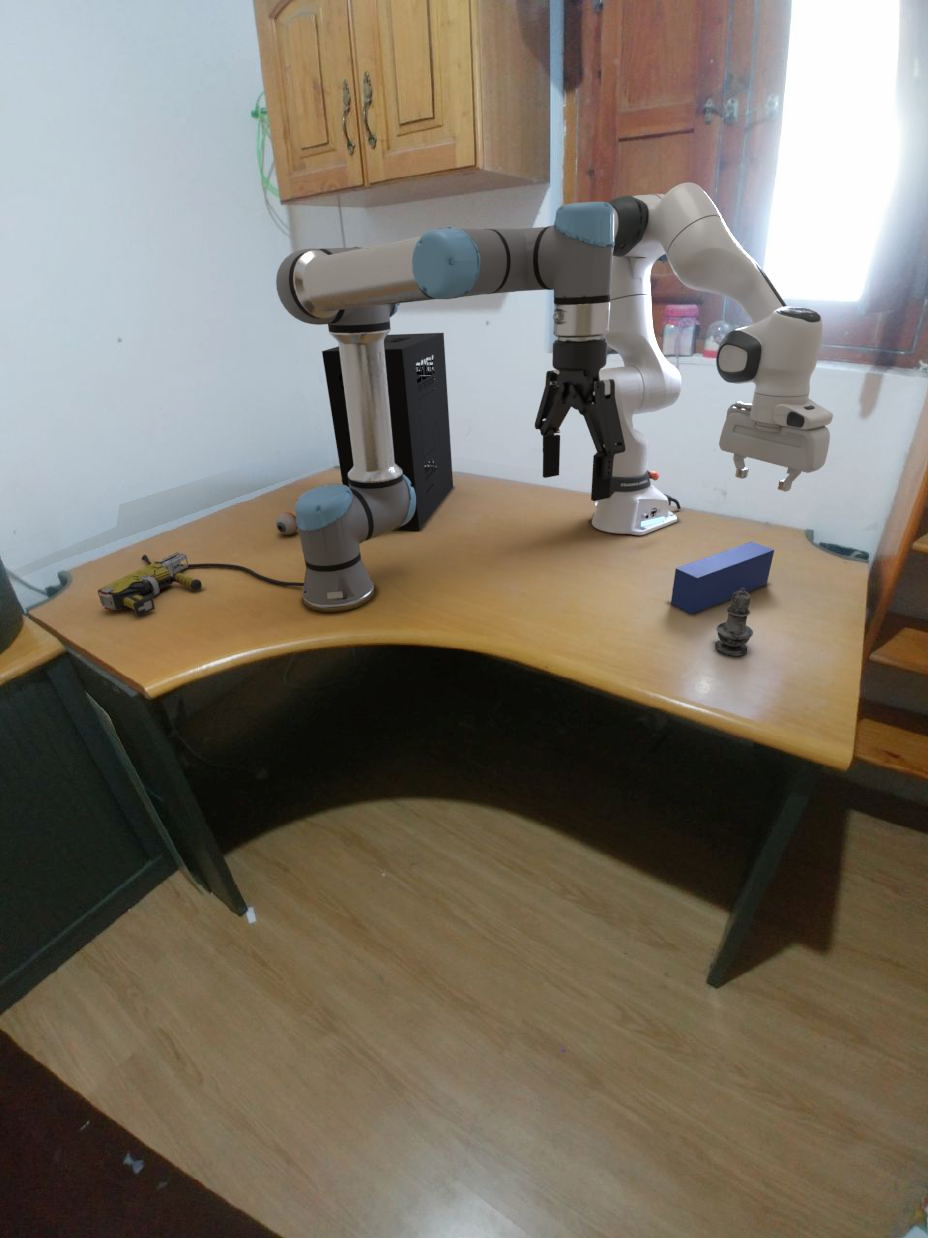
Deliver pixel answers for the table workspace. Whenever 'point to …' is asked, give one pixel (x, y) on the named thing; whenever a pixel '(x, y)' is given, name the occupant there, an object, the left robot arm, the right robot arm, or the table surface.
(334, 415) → the black tall block
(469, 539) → the table surface
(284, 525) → the eyeball
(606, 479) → the left robot arm
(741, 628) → the chess piece
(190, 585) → the toy gun
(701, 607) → the bar
